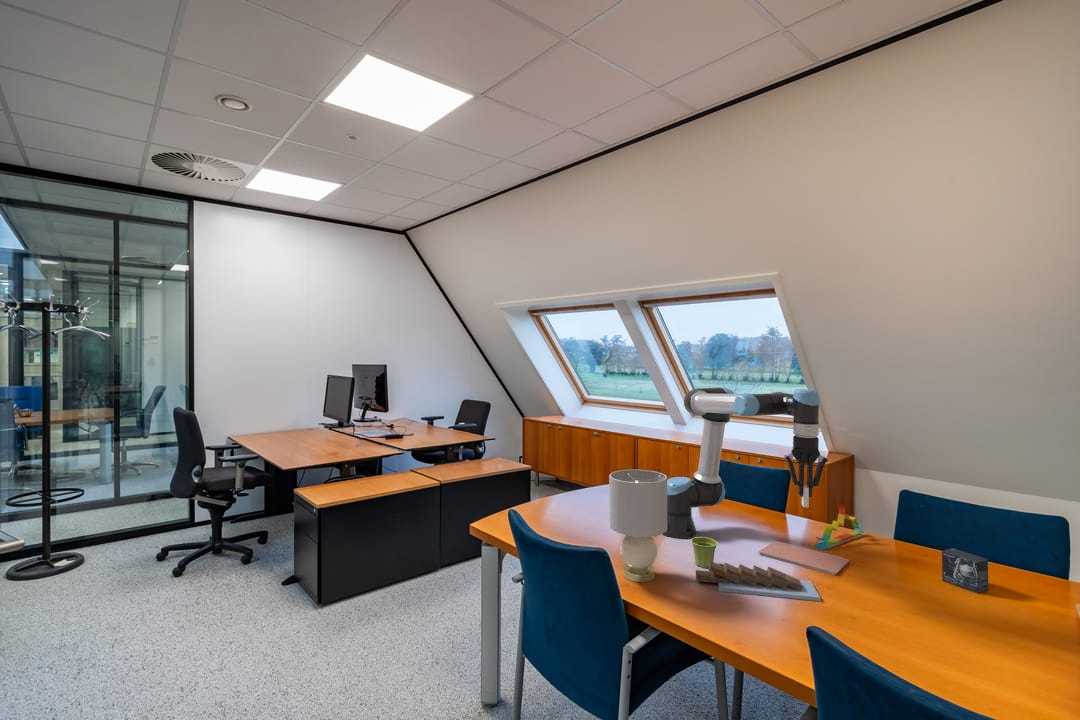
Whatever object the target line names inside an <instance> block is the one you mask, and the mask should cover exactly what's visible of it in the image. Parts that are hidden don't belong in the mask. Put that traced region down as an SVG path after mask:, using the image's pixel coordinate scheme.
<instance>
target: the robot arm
mask: <svg viewBox="0 0 1080 720" xmlns="http://www.w3.org/2000/svg"><path fill="white" fill-rule="evenodd" d="M819 394H820V393H819V392H818V391H817V390H816V389H809V388H808V389H807V388H800V389H799V388H797V389H794V390H793V393H787V392H783V391H774V392H770V393H735V392H734V391H733V390H732V389H730V388H728V387H721V386H720V387H701V388H700V387H699V388H697V387H696V388H693V389H691V390H689V391H688V392H687V393H686V394H685V396H684V399H683V407H684V408H685V410H686V412H688V413H690V415H693V416H697V417H700V418H701V419H702V420H703V431H702V437H701V442H700V443H701V444H700V453H699V458H698V459H699V461H698V467H697V471H695V472H694V473H693V476H692V477H693V479H691V478H689V477H687V476H674V477H669V478H667V531H666V532H665V533H663V534H662V535H664V536H665V537H670V538H673V539H689V538H694V537H695V536H696V535H697V528H696V525H695V522H694V519H693V516H692V515H693V514H692V513H693V511H692V508H702V507H714V506H718V505H721V503H723V501H724V498H725V496H726V488H725V483H724V481H722V478H721V476H720V475H719V470H720V463H721V456H722V451H723V450H722V449H723V442H724V435H725V429H726V424H728V423H729V422H730V421H731V420H730V419H731V416H733V415H737V416H741V417H757V416H758V417H759V416H776V415H778V416H780V415H785V416H791V417H793V421H792V423H793V427H792V430H793V431H792V433H793V436H792V440H793V441H792V446H793V447H792V449H791V452H790V453H788V454H785V455H784V456H783V458H784V459H785V461H786V462H787V464H788V469H789V474H790V477H791V480H792V483H793V484H794V485H795V486H798V496H799V497H801V506H802V507H804V508H809V502H810V500H809V499H810V498H811V497H813V488H814V487H818V486H819V484H820V480H821V477H822V473H823V471H824V467H825V464H826V463H827V462H828V458H827V457H826V456H824V455H821V452H820V451H819V449H820V448H819V447H820V446H819V437H818V436H819V434H820V433H819V431H820V429H819V426H820V425H819V423H820V422H819V421H820V418H819V416H820V413H819V412H820V395H819ZM794 458H795V460H796V462H797V465H798V466H797V467H798V468H797V469H798V470H797V471H798V475H797V473H796V469H795V466H794V462H793V460H794ZM817 460H818V461H817ZM816 461H817V464H816V469H815V472H814V471H813V470H814V469H813V468H814V463H815V462H816ZM805 465H806V466H805ZM805 467H806V485H805ZM813 474H814V475H813ZM797 477H798V478H797Z"/></svg>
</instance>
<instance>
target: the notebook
mask: <svg viewBox="0 0 1080 720" xmlns="http://www.w3.org/2000/svg"><path fill="white" fill-rule="evenodd" d="M758 553H759V556H763V557H766V558H770V559H773V560H777V561H781V562H785V563H788V564H792V565H795V566H799V567H803V568H808V569H810V570H813V571H817V572H822V573H825V574H829V575H833V576H836V575H837V574H838V573H840V571H841V570H842V569H843V568H844V567H845V566H846V565H847V564H848V563H849V561H850V559H847V558H844V557H843V556H838V555H834V554H830V553H826V552H824V551H823V552H822V551H820V550H819V551H818V550H814V549H810V548H807V547H803V546H799V545H795V544H789V543H787V542H786V543H785V542H784V541H780V542H779V541H775V540H774V541H772V542H770V543H769V544H768V545H766V546H764V547H763V548H761V549H760V550H759V551H758Z"/></svg>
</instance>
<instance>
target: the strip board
mask: <svg viewBox="0 0 1080 720" xmlns="http://www.w3.org/2000/svg"><path fill="white" fill-rule="evenodd" d="M798 580H799V581H800V582H801V584H802V586H803V587H802V590H801V591H800V590H798V589H796V588H793V587H791V586H789V585H787V588H786V589H784V588H781V587H779V586H777V585H775V584H772V585H771V588H769V587H767V586H765V585H763V584H761V583H758V582H757V584H756V586H753V585H751V584H749V583H747V582H745V581H742V580H740V583H739V584H738V583H735V582H733V581H731V580H729V579H728V584H725V583H717V585H718V590H719V592H722V593H723V592H727V593H733V594H734V593H735V594H745V595H754V596H763V597H764V596H765V597H775V598H783V599H795V600H803V601H811V602H812V601H814V602H821V596H820V594H819V593H818V591H817V589H816V588H815V586H814V584H813V583H812V581H811V580H803V579H798Z"/></svg>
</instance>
